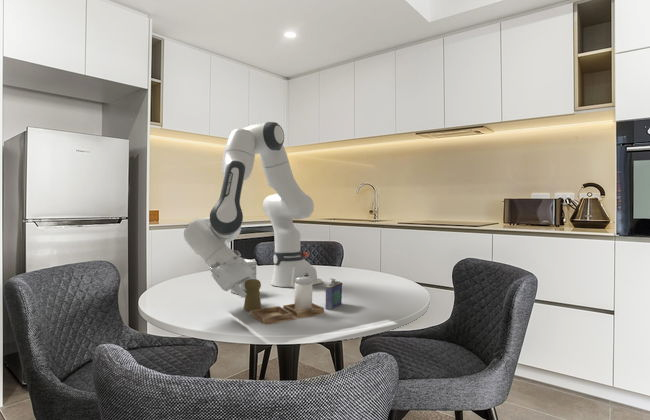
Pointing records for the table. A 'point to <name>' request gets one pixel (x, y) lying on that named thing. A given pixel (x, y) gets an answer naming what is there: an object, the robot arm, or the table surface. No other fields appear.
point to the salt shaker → (303, 293)
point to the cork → (252, 295)
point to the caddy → (284, 313)
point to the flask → (333, 294)
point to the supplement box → (253, 266)
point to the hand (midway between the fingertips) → (250, 292)
